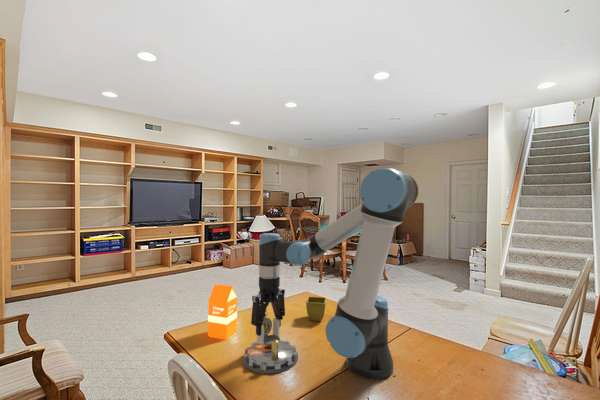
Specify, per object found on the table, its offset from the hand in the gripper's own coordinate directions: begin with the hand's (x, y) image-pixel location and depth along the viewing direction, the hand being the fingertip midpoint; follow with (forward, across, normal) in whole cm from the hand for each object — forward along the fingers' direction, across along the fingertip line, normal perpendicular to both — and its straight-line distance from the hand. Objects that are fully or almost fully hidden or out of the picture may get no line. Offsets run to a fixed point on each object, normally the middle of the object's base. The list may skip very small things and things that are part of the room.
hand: (268, 339), depth 103 cm
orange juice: (+5, +4, -24) cm, 25 cm away
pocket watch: (0, 0, 0) cm, 1 cm away
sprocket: (+4, +2, +4) cm, 6 cm away
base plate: (+4, +2, +4) cm, 6 cm away
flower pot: (+5, -35, -7) cm, 36 cm away
